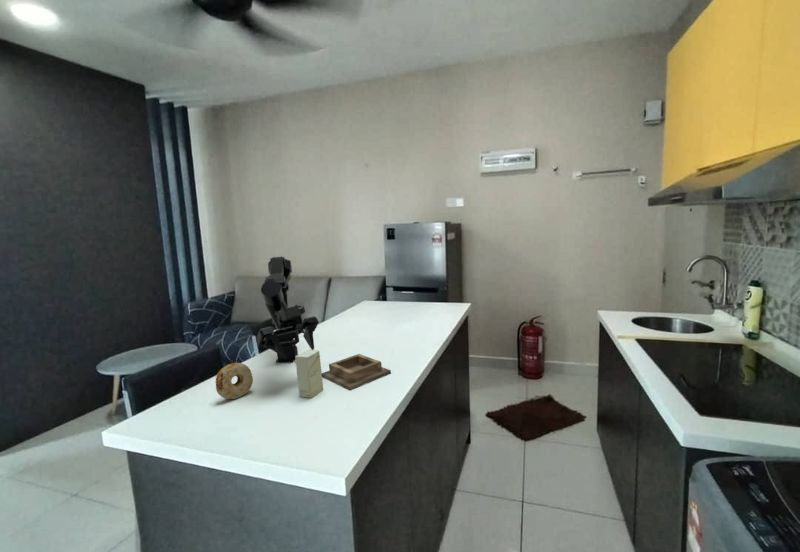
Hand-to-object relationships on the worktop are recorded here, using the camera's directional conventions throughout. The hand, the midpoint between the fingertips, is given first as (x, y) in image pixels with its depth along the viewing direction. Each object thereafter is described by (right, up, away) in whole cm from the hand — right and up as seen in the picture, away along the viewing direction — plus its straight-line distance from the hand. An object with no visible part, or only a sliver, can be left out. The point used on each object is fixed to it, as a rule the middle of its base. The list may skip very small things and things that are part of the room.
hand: (299, 353), depth 114 cm
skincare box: (+4, -12, -2) cm, 12 cm away
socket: (+16, -9, +9) cm, 20 cm away
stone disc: (-18, -13, -1) cm, 22 cm away
